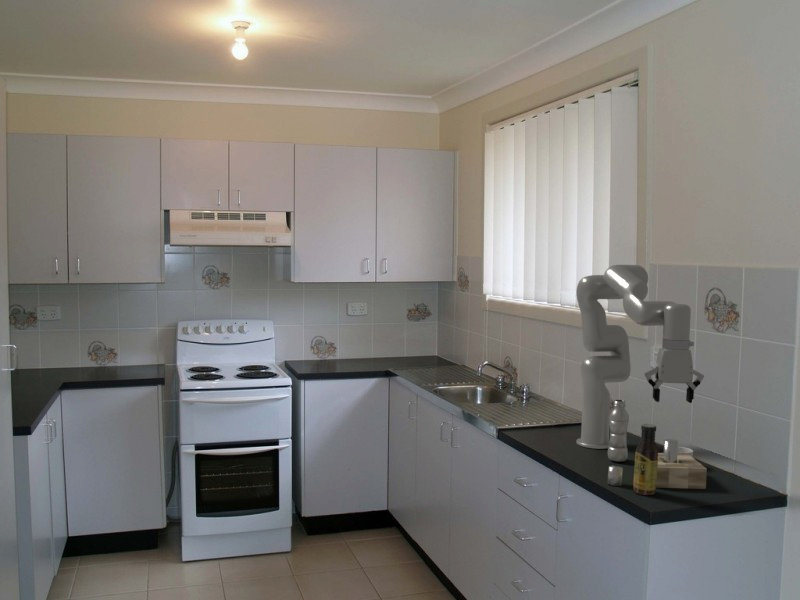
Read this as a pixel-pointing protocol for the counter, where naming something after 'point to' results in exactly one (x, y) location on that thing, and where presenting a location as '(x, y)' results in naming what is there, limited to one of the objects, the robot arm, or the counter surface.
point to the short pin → (615, 475)
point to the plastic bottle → (618, 432)
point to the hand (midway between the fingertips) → (672, 401)
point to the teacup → (685, 451)
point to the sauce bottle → (646, 462)
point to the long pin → (670, 451)
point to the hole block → (681, 473)
